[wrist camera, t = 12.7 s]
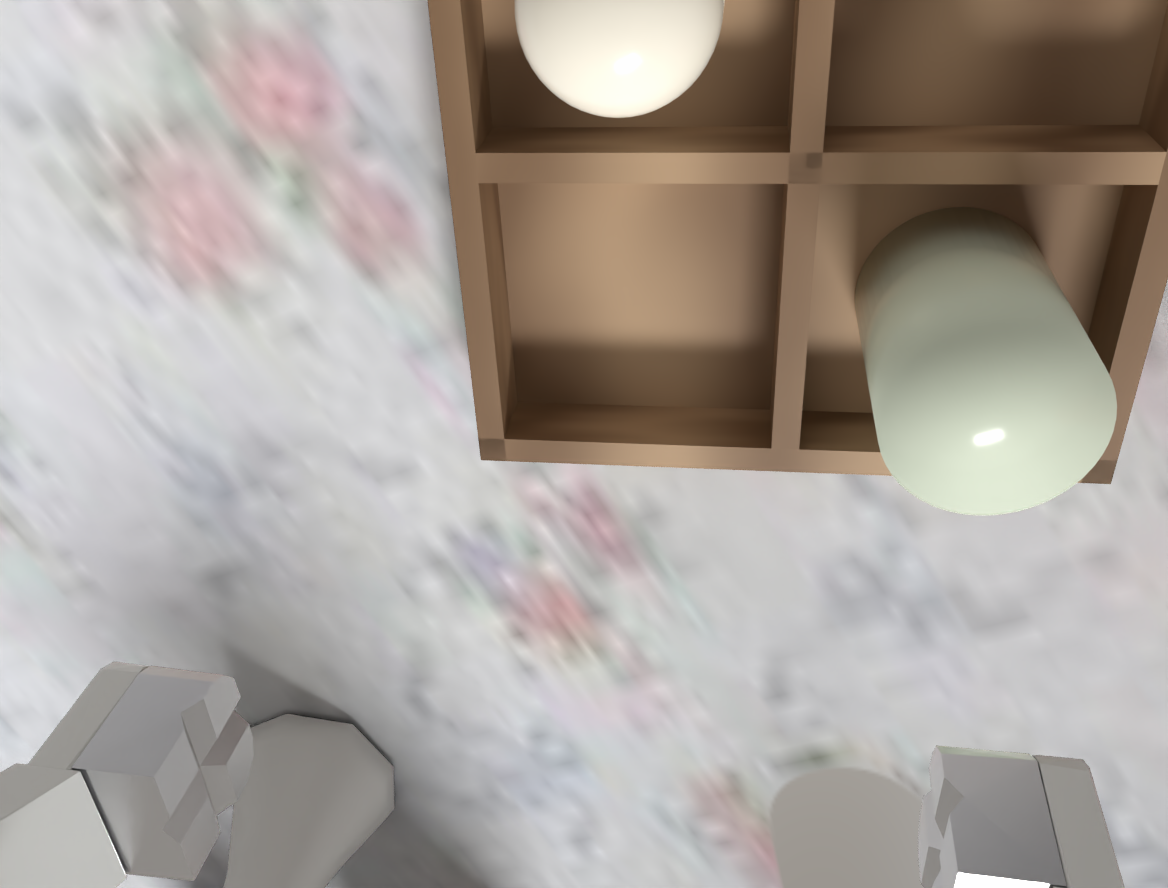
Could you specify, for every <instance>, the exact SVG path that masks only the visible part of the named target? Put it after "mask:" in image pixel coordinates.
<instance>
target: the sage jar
mask: <svg viewBox="0 0 1168 888" xmlns="http://www.w3.org/2000/svg"><path fill="white" fill-rule="evenodd" d="M855 311H856V317H857V323H858V329H859V335H860V340H861V346H862V352H863V358H864V364H865V369H866V375H867V381H868V387H869V393H870V398H871V404H872V410H873V416H874V421H875V427H876V433H877V439H878V444H879V448H880V452H881V455H882V458H883V460H884V462H885V465H886V466H887V468H888V470H889V471H890V473H891V474H892V476H893V477H894V478H895V479H896V480H897V482H898V483H899V484H900V485H901V486H902V487H903V488H905V489H906V490H907V491H908V492H909V493H911V494H912V495H914V496H915V497H917V498H918V499H920V500H921V501H923V502H925V503H928V504H930V505H932V506H934V507H937V508H940V509H943V510H946V511H950V512H954V513H959V514H967V515H986V516H989V515H1001V514H1007V513H1013V512H1018V511H1022V510H1025V509H1029V508H1032V507H1035V506H1037V505H1040V504H1042V503H1045V502H1047V501H1049V500H1051V499H1053V498H1055V497H1057V496H1059V495H1060V494H1062V493H1063V492H1065V491H1066V490H1068V489H1069V488H1071V487H1072V486H1074V485H1075V484H1076V483H1077V482H1079V481H1080V480H1081V479H1082V478H1083V477H1084V476H1085V475H1086V474H1087V473H1088V472H1089V471H1090V470H1091V469H1092V468H1093V467H1094V466H1095V464H1096V463H1097V462H1098V460H1099V459H1100V458H1101V456H1102V455H1103V453H1104V451H1105V449H1106V448H1107V446H1108V444H1109V442H1110V439H1111V436H1112V434H1113V431H1114V427H1115V422H1116V415H1117V401H1116V392H1115V389H1114V386H1113V382H1112V379H1111V377H1110V375H1109V373H1108V371H1107V369H1106V367H1105V366H1104V364H1103V362H1102V360H1101V359H1100V357H1099V355H1098V353H1097V351H1096V350H1095V348H1094V346H1093V344H1092V343H1091V341H1090V339H1089V337H1088V335H1087V334H1086V332H1085V330H1084V328H1083V327H1082V325H1081V323H1080V321H1079V319H1078V318H1077V316H1076V314H1075V312H1074V311H1073V309H1072V307H1071V305H1070V303H1069V302H1068V300H1067V298H1066V296H1065V295H1064V293H1063V291H1062V289H1061V287H1060V286H1059V284H1058V282H1057V280H1056V279H1055V277H1054V275H1053V273H1052V271H1051V270H1050V268H1049V266H1048V264H1047V263H1046V261H1045V259H1044V257H1043V255H1042V254H1041V252H1040V250H1039V248H1038V247H1037V245H1036V243H1035V242H1034V241H1033V239H1032V238H1031V237H1030V235H1029V234H1028V233H1027V232H1026V231H1025V230H1024V229H1023V228H1022V227H1020V226H1019V225H1018V224H1016V223H1015V222H1014V221H1012V220H1010V219H1008V218H1006V217H1005V216H1003V215H1000V214H998V213H995V212H992V211H989V210H984V209H980V208H972V207H951V208H944V209H938V210H934V211H930V212H927V213H924V214H922V215H919V216H917V217H914V218H912V219H910V220H908V221H907V222H905V223H903V224H901V225H900V226H898V227H897V228H895V229H894V230H893V231H891V232H890V233H889V234H888V235H887V236H886V237H884V238H883V239H882V240H881V241H880V242H879V244H878V245H877V246H876V247H875V248H874V249H873V251H872V252H871V254H870V255H869V256H868V258H867V259H866V261H865V263H864V265H863V267H862V269H861V272H860V275H859V277H858V280H857V285H856V290H855Z"/></svg>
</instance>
